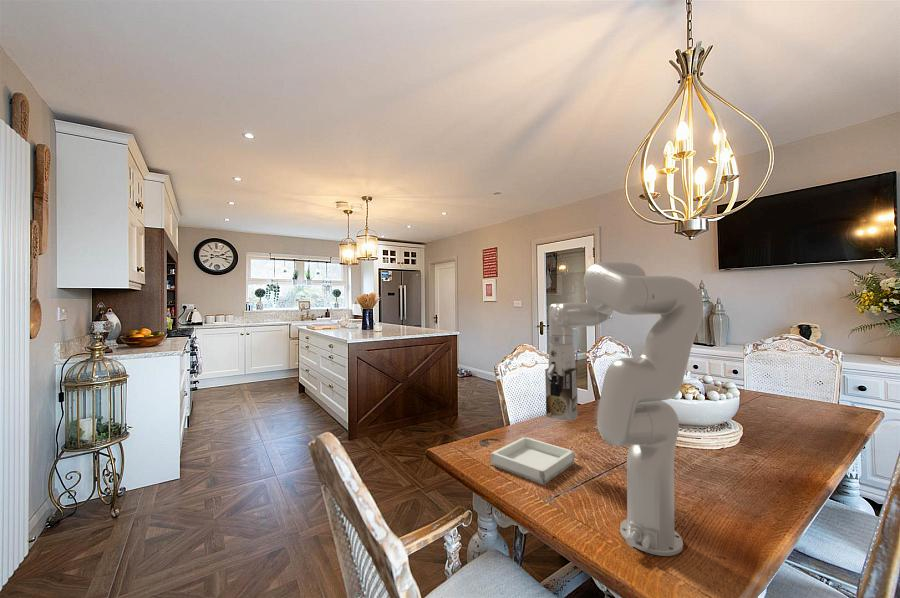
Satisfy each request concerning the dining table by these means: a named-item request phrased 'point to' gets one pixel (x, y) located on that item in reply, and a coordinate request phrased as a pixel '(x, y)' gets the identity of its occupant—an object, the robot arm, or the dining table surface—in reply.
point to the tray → (533, 459)
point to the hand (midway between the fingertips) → (561, 393)
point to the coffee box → (563, 397)
